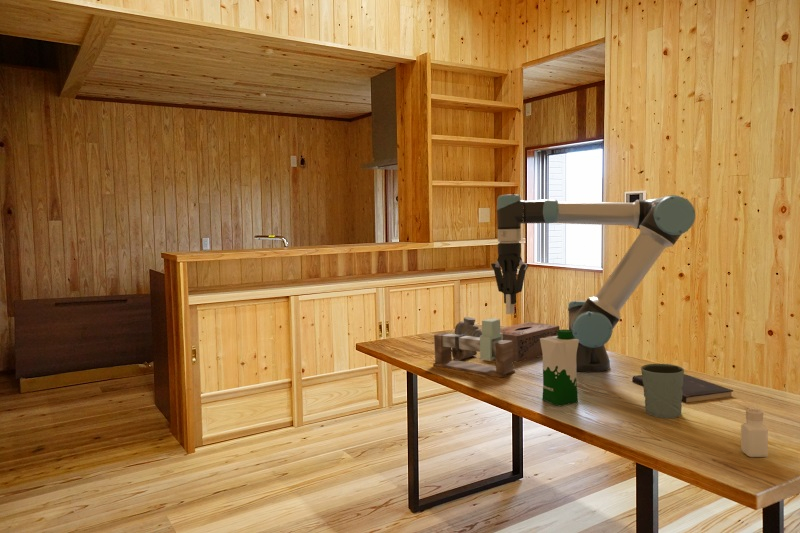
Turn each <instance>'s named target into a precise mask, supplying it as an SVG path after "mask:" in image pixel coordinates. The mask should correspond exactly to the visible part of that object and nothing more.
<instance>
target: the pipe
mask: <svg viewBox="0 0 800 533" xmlns="http://www.w3.org/2000/svg"><path fill="white" fill-rule="evenodd" d="M477 354H478V351H471V350H464V349H459V350H457V349H455V348H451V355H452V359H453V360H457V361H462V360H466V359H469V358H471V357H474V356H476V355H477Z"/></svg>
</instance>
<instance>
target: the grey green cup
mask: <svg viewBox="0 0 800 533" xmlns="http://www.w3.org/2000/svg"><path fill="white" fill-rule="evenodd" d="M640 370H641V375H642V380H643V385H644V386H643V396H644V406H645V413H646V414H647V415H650V416H652V417H655V418H661V419H677V418H679V417H681V416H682V408H683V406H682V404H683V403H682V401H681V400H682V392H683V390H682V386H683V377H684V374H685V369H684V368H683V367H681V366H679V365H675V364H669V363H649V364H644V365H642V366H641V368H640Z"/></svg>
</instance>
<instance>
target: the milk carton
mask: <svg viewBox="0 0 800 533" xmlns="http://www.w3.org/2000/svg"><path fill="white" fill-rule="evenodd" d="M540 342H541V348H542V353H543V356H542V401H545V402H548V403H550V404H552V405H554V406H556V407H561V406H566V405H570V404H576V403H579V398H578V385H577V382H578V381H577V377H578V376H577V372H578V371H576V353H577V348H578V343H579V340H578V339H576V338H573V337H572V330H569V329H559V330H558V336H552V337H547V338H540Z"/></svg>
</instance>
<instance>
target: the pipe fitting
mask: <svg viewBox="0 0 800 533" xmlns="http://www.w3.org/2000/svg"><path fill="white" fill-rule="evenodd" d="M475 323H476V319H475V318H473V317H470V316H469V317H467V316H465V317H463V320H462V321H459V322H457V324H456V325H455V327H454V334H456V335H462V334H465V335H466V336H472V337H480V336H481V335H482V329H479V326H478V325H476V324H475Z"/></svg>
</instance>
